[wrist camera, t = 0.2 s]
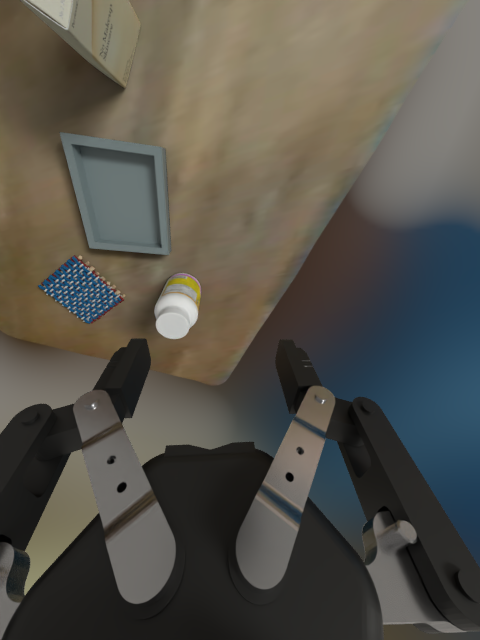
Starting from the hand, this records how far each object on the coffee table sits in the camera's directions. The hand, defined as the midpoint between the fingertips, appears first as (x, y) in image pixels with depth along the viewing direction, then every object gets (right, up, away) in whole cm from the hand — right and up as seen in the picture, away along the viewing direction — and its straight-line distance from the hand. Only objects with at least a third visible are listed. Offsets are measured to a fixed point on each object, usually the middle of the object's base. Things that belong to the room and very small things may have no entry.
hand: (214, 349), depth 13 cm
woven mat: (-27, +8, +28) cm, 40 cm away
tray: (-15, +20, +20) cm, 32 cm away
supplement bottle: (-9, +8, +29) cm, 31 cm away
